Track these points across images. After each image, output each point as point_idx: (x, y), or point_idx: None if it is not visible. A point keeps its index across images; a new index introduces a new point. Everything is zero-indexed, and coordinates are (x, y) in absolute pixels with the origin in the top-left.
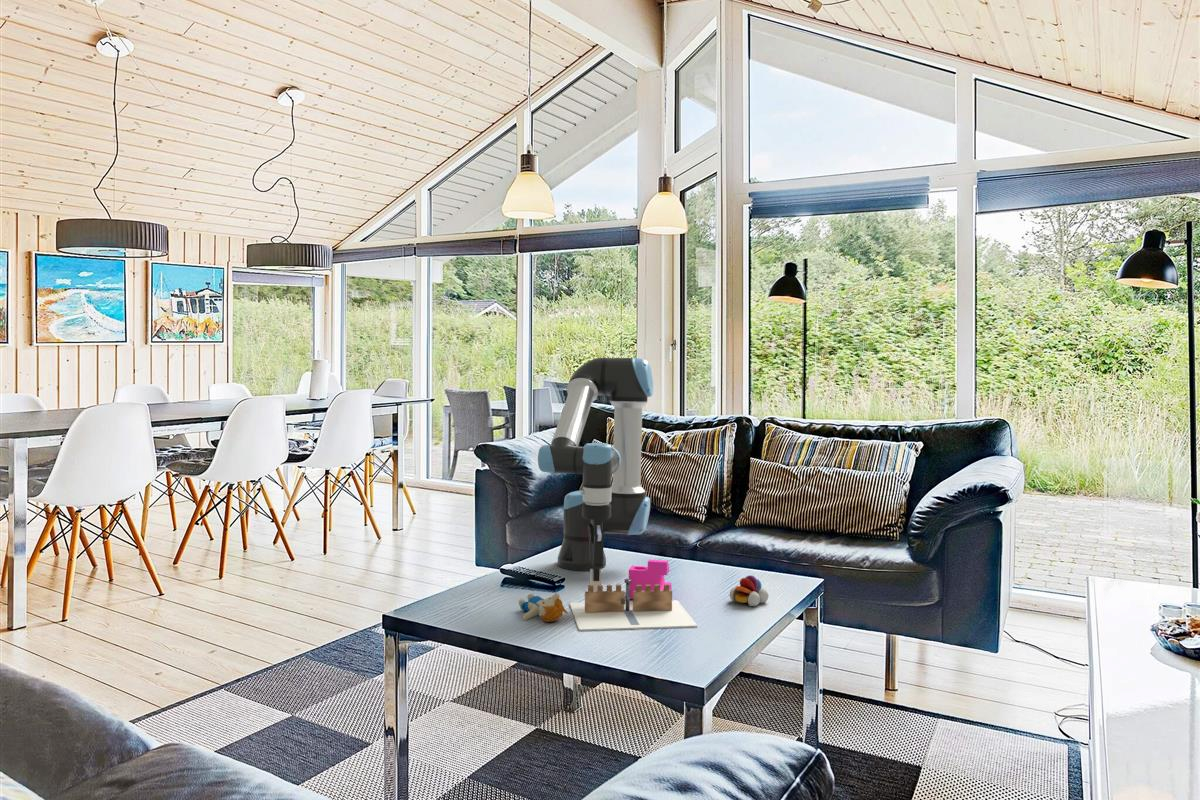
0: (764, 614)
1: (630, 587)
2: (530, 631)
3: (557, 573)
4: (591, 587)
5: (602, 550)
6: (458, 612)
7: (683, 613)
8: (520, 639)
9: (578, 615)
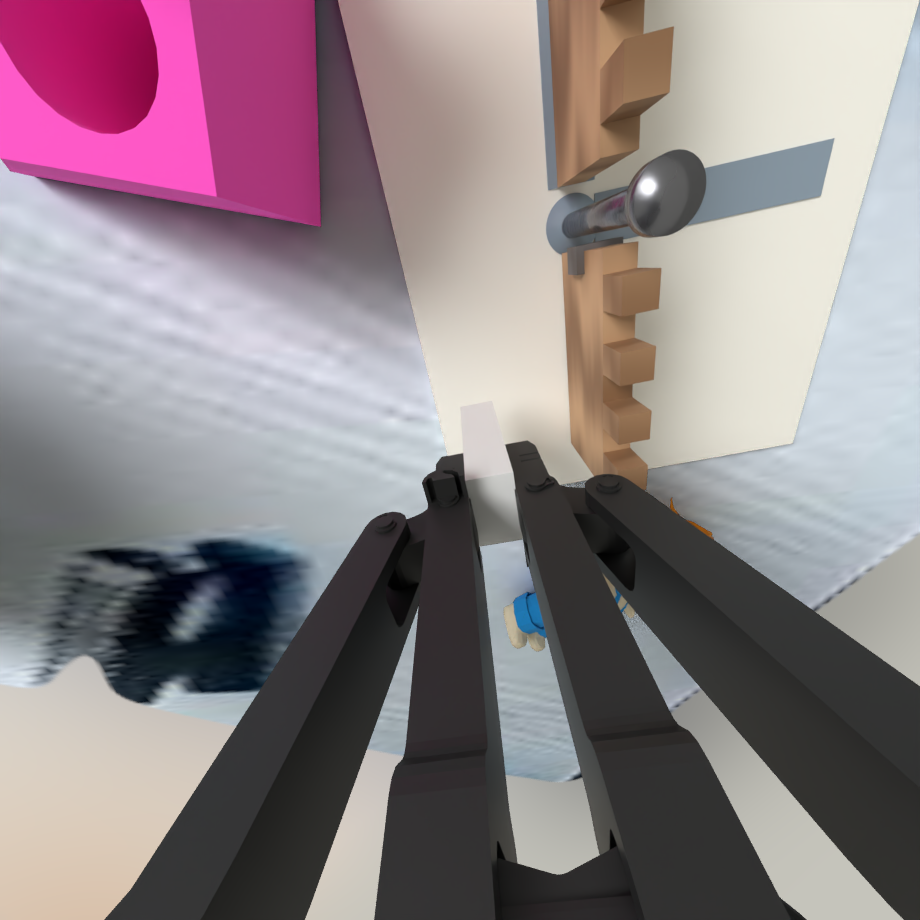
0: None
1: (292, 200)
2: None
3: (36, 580)
4: (644, 472)
5: (814, 624)
6: (546, 715)
7: None
8: (800, 585)
9: None
